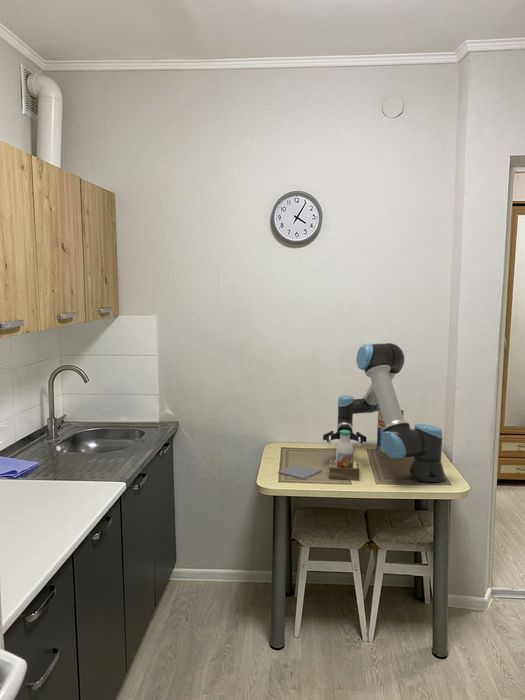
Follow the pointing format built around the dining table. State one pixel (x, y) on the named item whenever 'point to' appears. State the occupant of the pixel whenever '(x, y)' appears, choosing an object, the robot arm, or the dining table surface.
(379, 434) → the beverage box
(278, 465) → the dining table surface
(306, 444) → the dining table surface
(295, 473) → the grey tile
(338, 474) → the wooden frame
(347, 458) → the milk bottle
